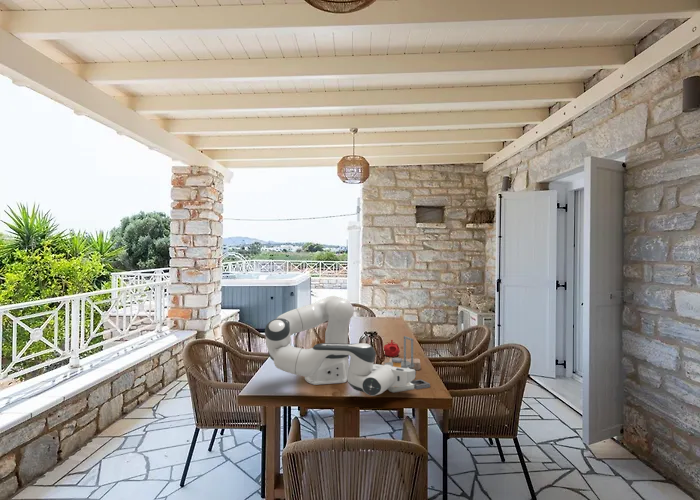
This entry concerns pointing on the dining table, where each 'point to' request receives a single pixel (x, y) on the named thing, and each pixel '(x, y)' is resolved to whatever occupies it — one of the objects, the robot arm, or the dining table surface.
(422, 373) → the dining table surface
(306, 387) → the dining table surface
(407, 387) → the tray
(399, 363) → the pin
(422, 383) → the socket
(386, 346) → the red hollow tomato
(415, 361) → the brick
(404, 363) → the trolley
